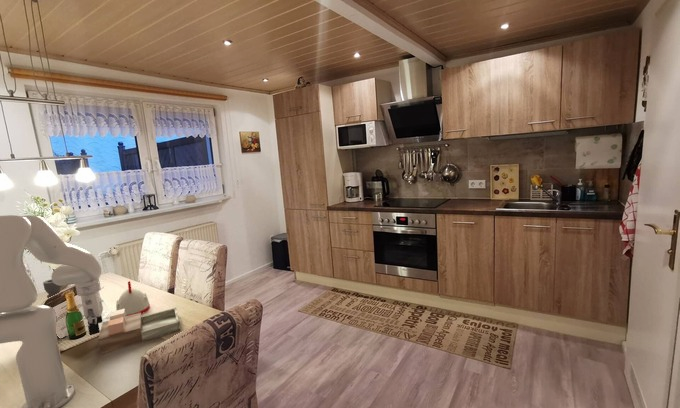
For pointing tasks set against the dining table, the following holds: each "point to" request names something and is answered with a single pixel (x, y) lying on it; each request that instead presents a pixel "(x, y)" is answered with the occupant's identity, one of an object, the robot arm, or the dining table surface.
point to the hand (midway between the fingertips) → (96, 328)
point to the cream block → (118, 314)
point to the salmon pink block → (116, 326)
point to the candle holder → (51, 289)
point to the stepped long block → (139, 329)
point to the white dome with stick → (133, 301)
